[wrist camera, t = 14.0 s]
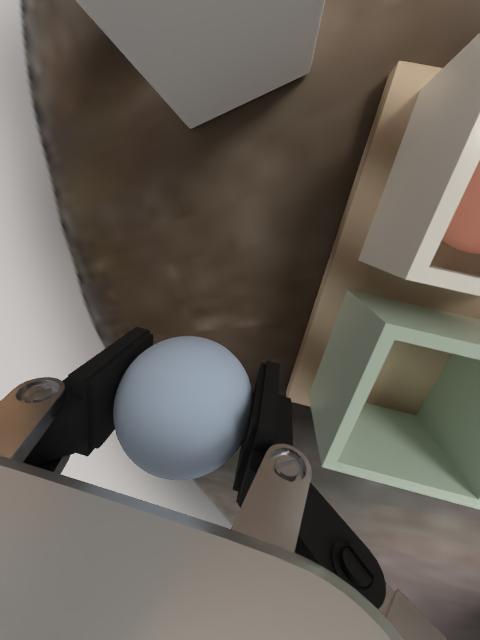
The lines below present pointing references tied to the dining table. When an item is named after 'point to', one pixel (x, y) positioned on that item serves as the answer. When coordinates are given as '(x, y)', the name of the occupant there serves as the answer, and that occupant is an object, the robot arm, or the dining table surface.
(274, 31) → the milk carton
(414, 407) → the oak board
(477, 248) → the coral ball
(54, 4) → the dining table surface
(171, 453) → the slate ball
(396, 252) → the cream cup
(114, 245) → the dining table surface
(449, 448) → the sage cup
